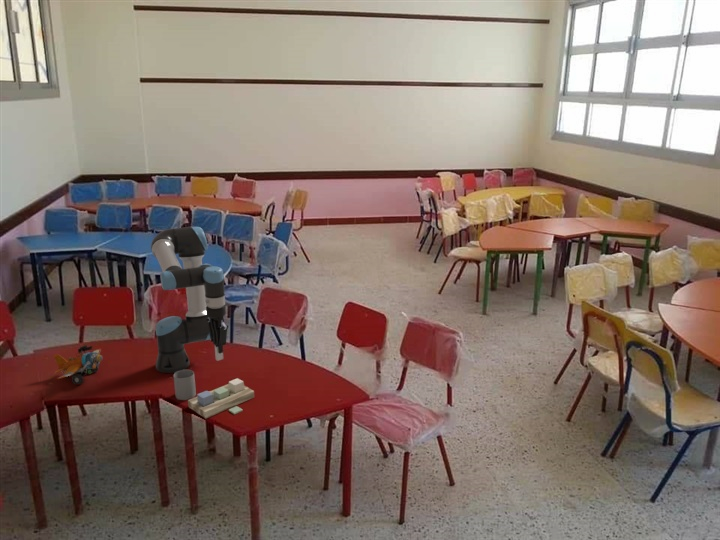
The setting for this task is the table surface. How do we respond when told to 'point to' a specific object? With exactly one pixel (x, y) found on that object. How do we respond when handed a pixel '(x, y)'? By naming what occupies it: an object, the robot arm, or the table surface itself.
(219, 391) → the button sage
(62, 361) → the toy airplane
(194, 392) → the cup
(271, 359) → the table surface
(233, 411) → the tile
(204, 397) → the button blue
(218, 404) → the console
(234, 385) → the button cream
